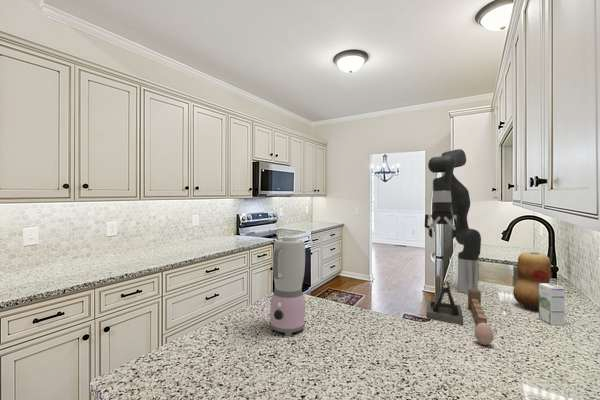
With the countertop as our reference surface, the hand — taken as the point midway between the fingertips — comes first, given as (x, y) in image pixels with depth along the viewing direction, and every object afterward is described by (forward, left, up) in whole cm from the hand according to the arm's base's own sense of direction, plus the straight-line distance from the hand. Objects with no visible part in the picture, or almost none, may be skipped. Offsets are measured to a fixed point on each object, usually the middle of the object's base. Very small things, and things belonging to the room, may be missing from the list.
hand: (442, 238), depth 126 cm
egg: (+32, +12, -31) cm, 46 cm away
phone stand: (+10, +1, -29) cm, 31 cm away
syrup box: (-3, +39, -31) cm, 50 cm away
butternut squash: (-19, +37, -31) cm, 52 cm away
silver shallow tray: (+10, +1, -30) cm, 32 cm away
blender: (+54, -49, -31) cm, 79 cm away
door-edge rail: (+8, +13, -30) cm, 34 cm away
